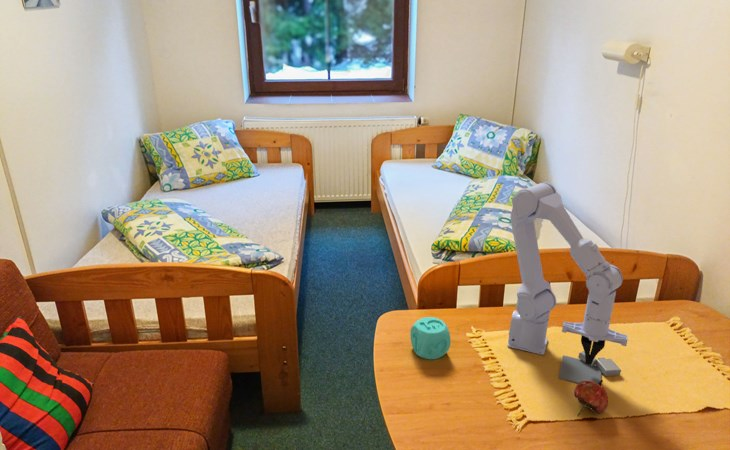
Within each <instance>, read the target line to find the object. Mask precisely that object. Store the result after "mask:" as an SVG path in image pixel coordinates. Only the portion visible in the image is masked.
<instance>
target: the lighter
mask: <svg viewBox="0 0 730 450" xmlns="http://www.w3.org/2000/svg"><path fill="white" fill-rule="evenodd" d="M577 359H581V360H582V361H584V362H585V361H586V358H585V352H584V350H583V351H580V352H578V356H577ZM589 365H590V364H589ZM593 365H596V366H597V367H598V368H599V369H600V371H601V374H602V375H604V376H605V377H612V376H615V377H616V376H620V375H621V373H622V369H621V368H620V366H618V365H617V363H616V362H615V361H614V360H613V359H612V358H605V357H598V358H596V357H595V358H594V360H593V362H592V364H591V365H590V366H593Z"/></svg>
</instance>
